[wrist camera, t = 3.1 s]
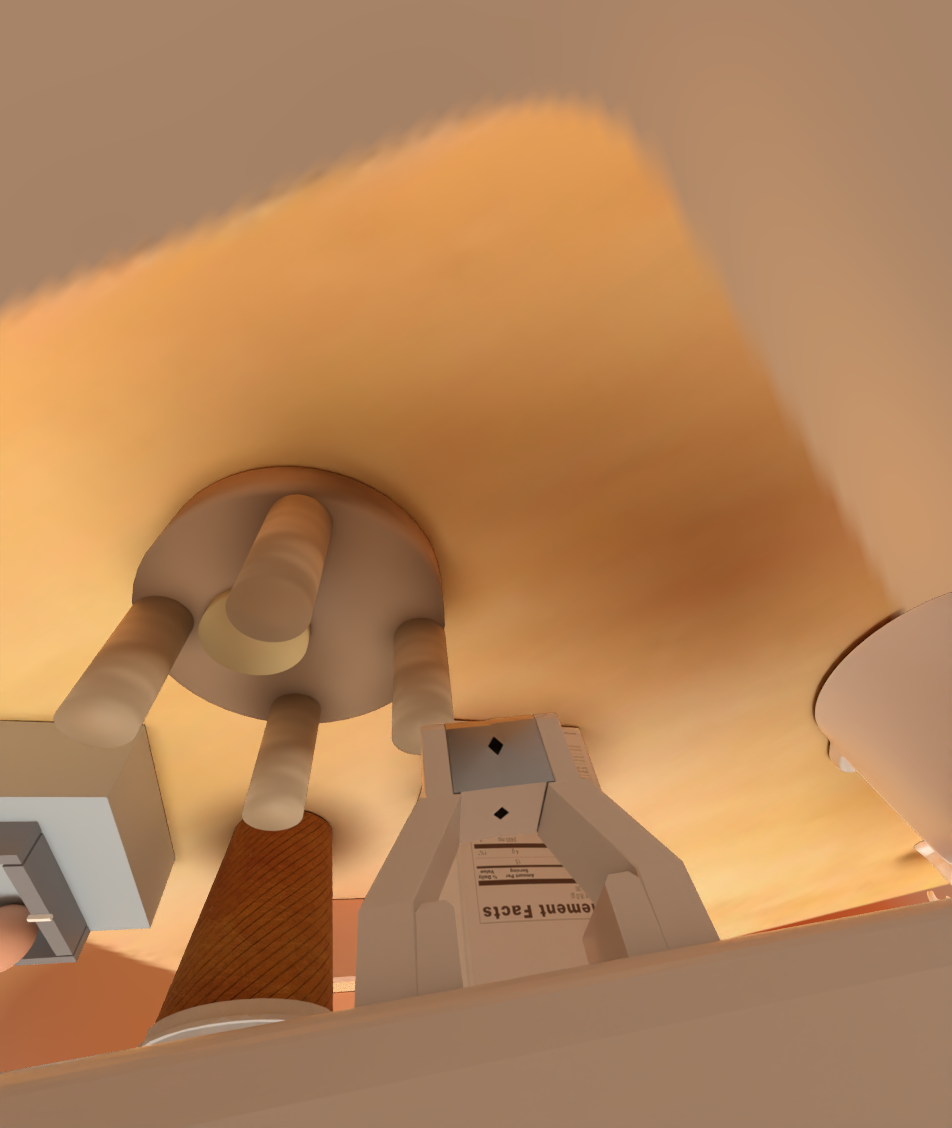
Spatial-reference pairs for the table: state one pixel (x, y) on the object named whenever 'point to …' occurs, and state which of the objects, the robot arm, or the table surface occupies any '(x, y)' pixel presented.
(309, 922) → the disposable coffee cup
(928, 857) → the flower shoulder figurine
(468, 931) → the supplement box
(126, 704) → the dial
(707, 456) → the table surface
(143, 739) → the stand
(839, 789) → the table surface
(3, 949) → the indicator ball
